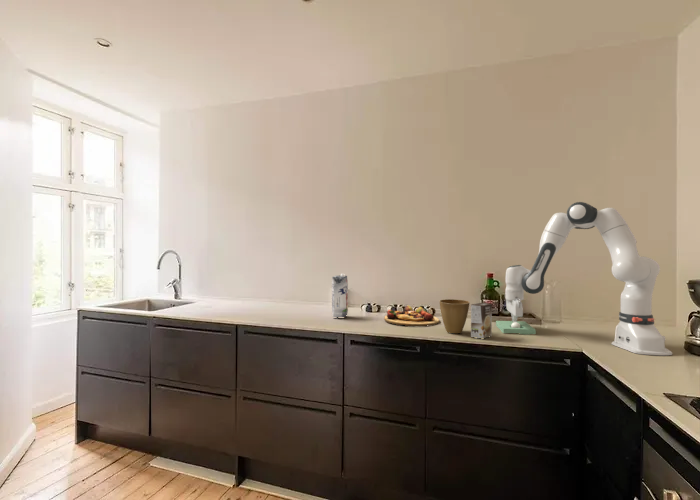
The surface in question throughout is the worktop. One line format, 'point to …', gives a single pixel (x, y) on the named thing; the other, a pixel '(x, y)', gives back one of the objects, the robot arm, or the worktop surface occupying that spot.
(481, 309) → the coffee box
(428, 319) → the wooden plate with food
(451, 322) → the plant pot
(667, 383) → the worktop surface
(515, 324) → the ball
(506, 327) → the putting board
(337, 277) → the juice carton
